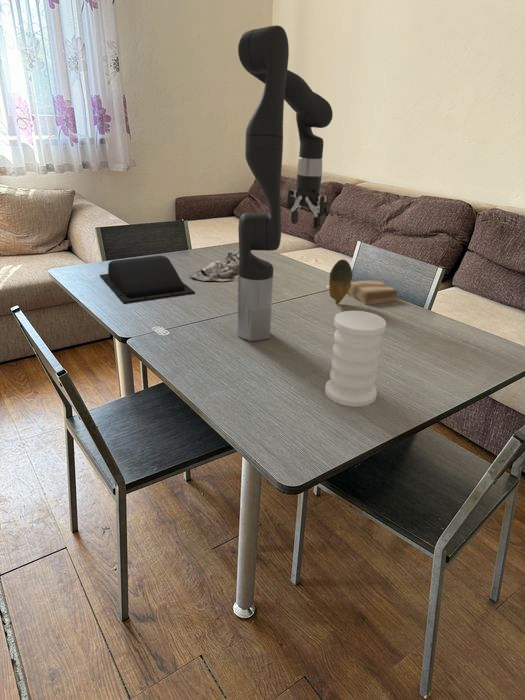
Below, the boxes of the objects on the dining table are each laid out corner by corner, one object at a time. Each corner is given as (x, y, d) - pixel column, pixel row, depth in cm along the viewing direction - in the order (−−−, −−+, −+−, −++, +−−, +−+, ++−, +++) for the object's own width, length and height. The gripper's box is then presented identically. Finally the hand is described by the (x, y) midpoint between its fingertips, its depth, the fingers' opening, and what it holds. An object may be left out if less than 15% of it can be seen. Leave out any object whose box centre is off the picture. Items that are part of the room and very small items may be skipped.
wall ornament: (275, 252, 191) (203, 252, 175) (274, 280, 194) (203, 282, 177) (248, 248, 206) (180, 248, 190) (247, 273, 209) (180, 275, 193)
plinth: (395, 301, 173) (397, 289, 171) (365, 304, 168) (366, 293, 167) (375, 289, 183) (376, 278, 181) (346, 292, 178) (347, 281, 177)
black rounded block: (100, 278, 184) (123, 305, 161) (97, 254, 180) (121, 279, 157) (163, 270, 195) (194, 295, 172) (162, 248, 191) (194, 270, 168)
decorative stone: (339, 298, 173) (344, 255, 166) (353, 303, 169) (359, 259, 162) (320, 304, 167) (324, 259, 160) (334, 310, 163) (339, 264, 156)
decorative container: (374, 410, 110) (386, 334, 102) (320, 401, 112) (328, 326, 105) (378, 385, 120) (389, 314, 112) (329, 377, 123) (336, 307, 115)
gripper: (283, 171, 158) (280, 223, 166) (321, 177, 150) (316, 232, 157) (298, 169, 163) (295, 220, 171) (335, 175, 155) (330, 228, 163)
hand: (305, 226), depth 164 cm, fingers open, 8 cm apart
